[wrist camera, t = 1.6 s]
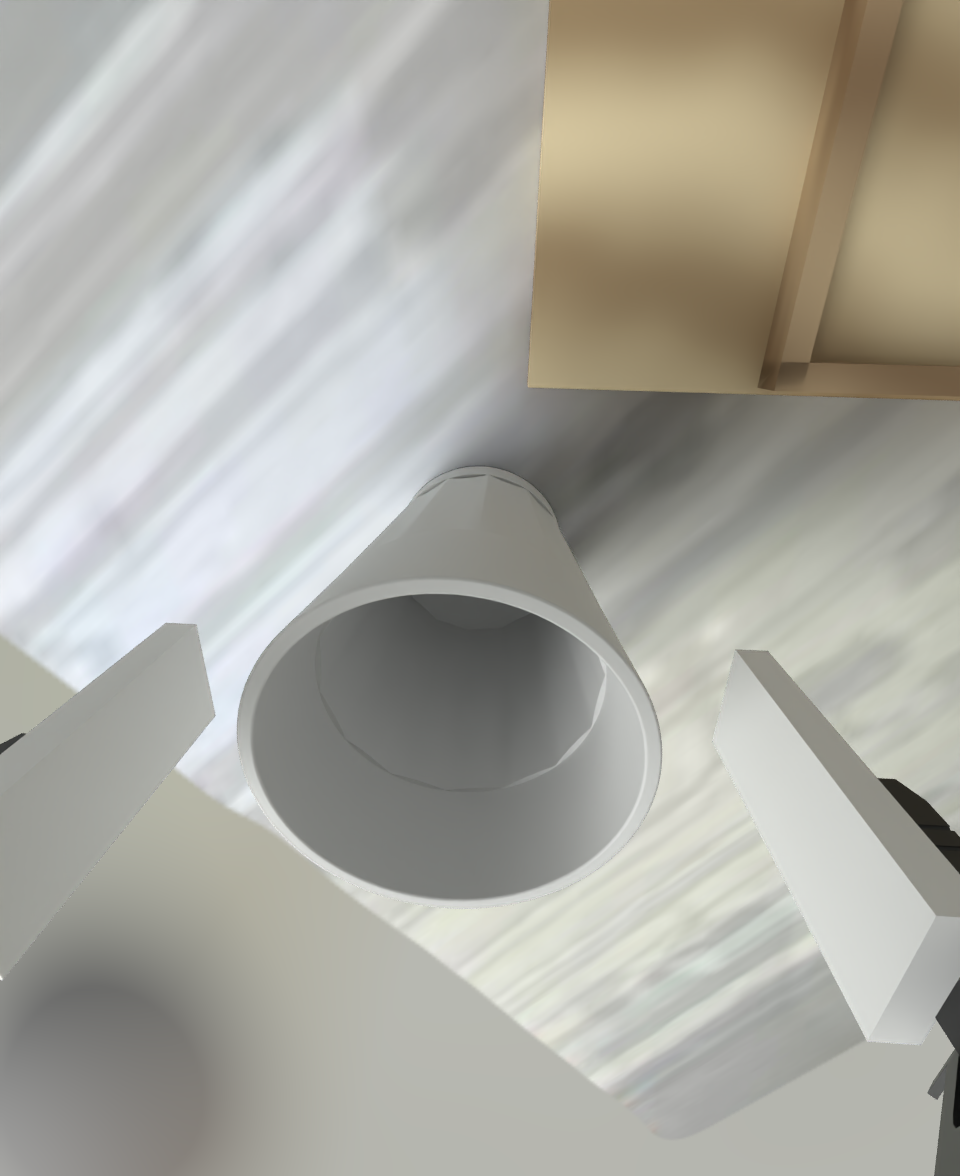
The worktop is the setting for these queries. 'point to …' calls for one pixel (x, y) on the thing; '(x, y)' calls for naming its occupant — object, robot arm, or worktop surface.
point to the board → (750, 198)
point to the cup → (454, 709)
